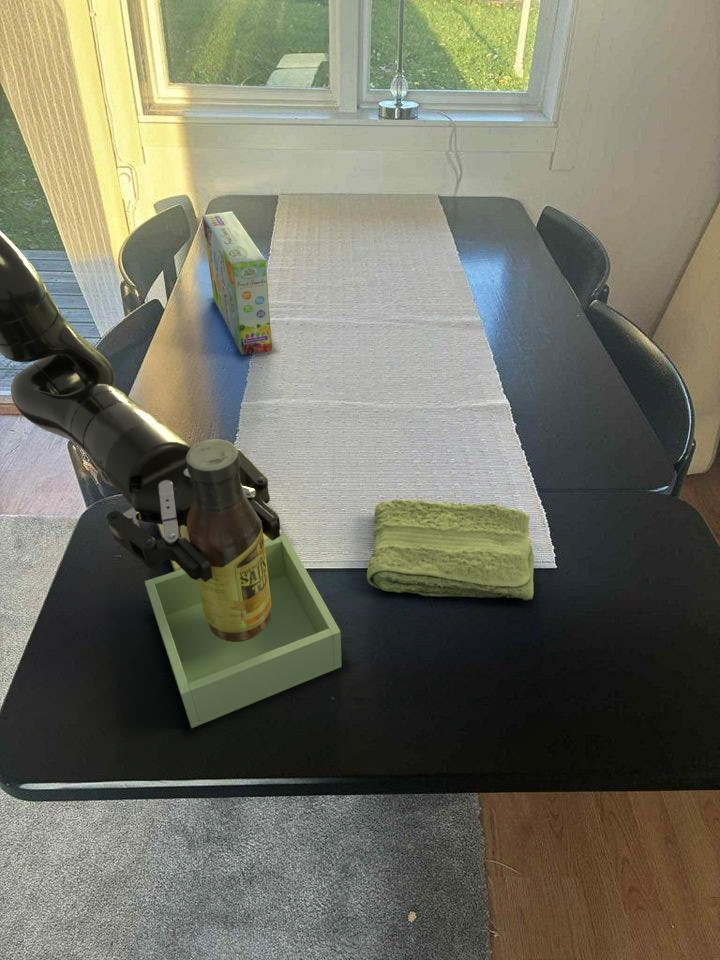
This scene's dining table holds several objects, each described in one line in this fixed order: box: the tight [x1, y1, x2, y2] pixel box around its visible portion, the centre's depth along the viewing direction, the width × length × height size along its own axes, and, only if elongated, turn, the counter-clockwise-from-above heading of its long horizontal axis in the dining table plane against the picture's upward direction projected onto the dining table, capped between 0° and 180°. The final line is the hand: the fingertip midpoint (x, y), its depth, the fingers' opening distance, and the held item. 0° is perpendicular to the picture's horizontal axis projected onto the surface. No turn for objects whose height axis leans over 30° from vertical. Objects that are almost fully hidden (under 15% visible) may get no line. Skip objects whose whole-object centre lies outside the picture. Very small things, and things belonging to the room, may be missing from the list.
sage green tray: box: [144, 533, 343, 729], centre depth 67 cm, size 15×14×6 cm
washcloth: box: [366, 499, 535, 601], centre depth 76 cm, size 13×18×3 cm
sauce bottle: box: [186, 438, 271, 642], centre depth 60 cm, size 7×6×20 cm
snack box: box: [201, 210, 273, 356], centre depth 112 cm, size 21×6×15 cm, turn 22°
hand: (243, 551), depth 58 cm, fingers closed on sauce bottle, 6 cm apart
